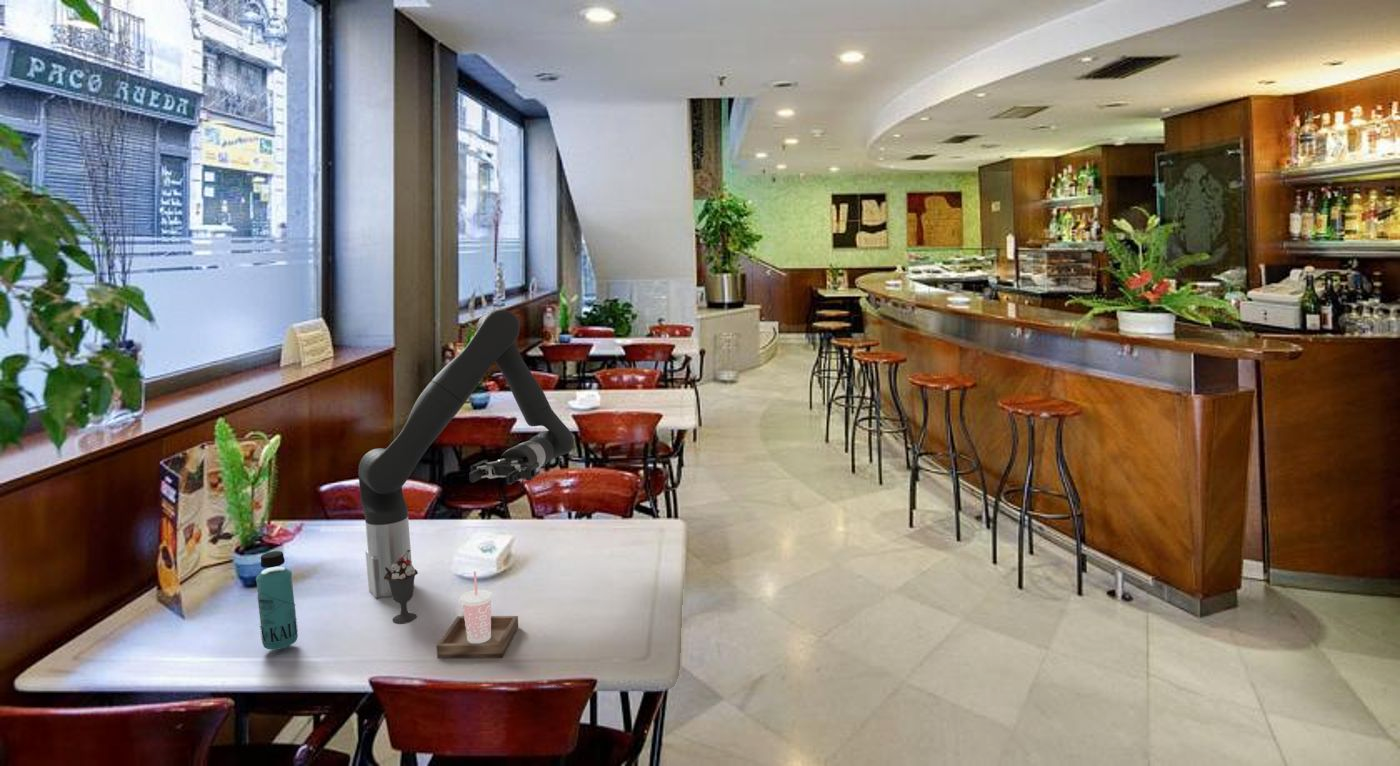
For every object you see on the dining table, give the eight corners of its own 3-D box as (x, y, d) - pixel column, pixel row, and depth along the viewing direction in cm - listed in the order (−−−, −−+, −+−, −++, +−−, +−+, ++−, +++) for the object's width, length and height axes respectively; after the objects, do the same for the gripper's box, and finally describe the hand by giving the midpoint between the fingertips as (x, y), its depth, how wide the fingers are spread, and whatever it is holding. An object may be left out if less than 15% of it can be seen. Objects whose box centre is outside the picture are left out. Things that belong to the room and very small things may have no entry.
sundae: (427, 613, 173) (422, 547, 170) (407, 627, 166) (401, 559, 164) (402, 609, 175) (397, 544, 173) (381, 623, 169) (375, 555, 166)
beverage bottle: (271, 642, 161) (261, 548, 158) (305, 640, 161) (295, 546, 158) (256, 658, 154) (245, 560, 151) (292, 656, 155) (281, 558, 152)
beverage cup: (467, 648, 155) (462, 580, 153) (460, 635, 161) (455, 569, 158) (498, 640, 158) (494, 573, 156) (490, 628, 164) (486, 563, 161)
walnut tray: (437, 658, 153) (436, 645, 153) (458, 628, 166) (457, 616, 165) (502, 657, 153) (501, 645, 153) (518, 627, 165) (517, 615, 165)
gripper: (494, 443, 185) (458, 460, 169) (551, 445, 182) (519, 463, 166) (496, 474, 186) (460, 494, 170) (552, 477, 183) (521, 497, 167)
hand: (489, 478), depth 168 cm, fingers open, 8 cm apart
